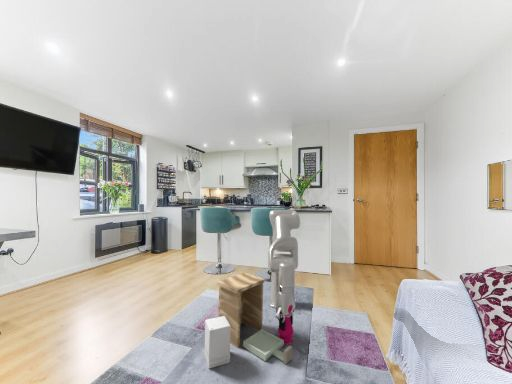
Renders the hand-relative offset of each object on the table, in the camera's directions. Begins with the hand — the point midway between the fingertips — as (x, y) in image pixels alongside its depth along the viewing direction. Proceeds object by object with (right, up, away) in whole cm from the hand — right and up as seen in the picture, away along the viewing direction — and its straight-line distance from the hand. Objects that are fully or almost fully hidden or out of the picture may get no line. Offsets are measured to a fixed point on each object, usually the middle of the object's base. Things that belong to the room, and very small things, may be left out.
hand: (285, 326), depth 107 cm
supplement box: (-31, -6, -13) cm, 34 cm away
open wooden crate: (-22, -6, +5) cm, 24 cm away
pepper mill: (0, -7, 0) cm, 7 cm away
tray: (-8, -6, -8) cm, 13 cm away
